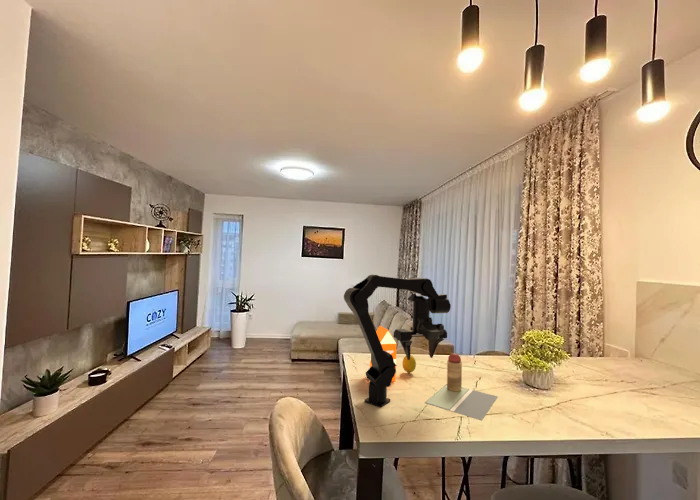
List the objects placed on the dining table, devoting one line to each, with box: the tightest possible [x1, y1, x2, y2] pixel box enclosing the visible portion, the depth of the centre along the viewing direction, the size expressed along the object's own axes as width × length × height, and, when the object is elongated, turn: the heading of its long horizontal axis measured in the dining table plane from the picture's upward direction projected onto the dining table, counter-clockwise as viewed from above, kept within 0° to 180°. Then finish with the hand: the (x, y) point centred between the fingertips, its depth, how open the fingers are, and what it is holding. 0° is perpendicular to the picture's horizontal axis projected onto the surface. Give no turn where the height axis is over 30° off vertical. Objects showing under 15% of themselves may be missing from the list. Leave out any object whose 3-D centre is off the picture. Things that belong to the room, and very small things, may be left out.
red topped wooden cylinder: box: [446, 352, 463, 392], centre depth 117 cm, size 5×5×13 cm
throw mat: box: [424, 383, 499, 421], centre depth 108 cm, size 22×18×1 cm
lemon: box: [402, 354, 417, 374], centre depth 134 cm, size 6×6×8 cm
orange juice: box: [369, 325, 397, 383], centre depth 128 cm, size 8×9×20 cm
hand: (420, 358), depth 111 cm, fingers open, 9 cm apart
